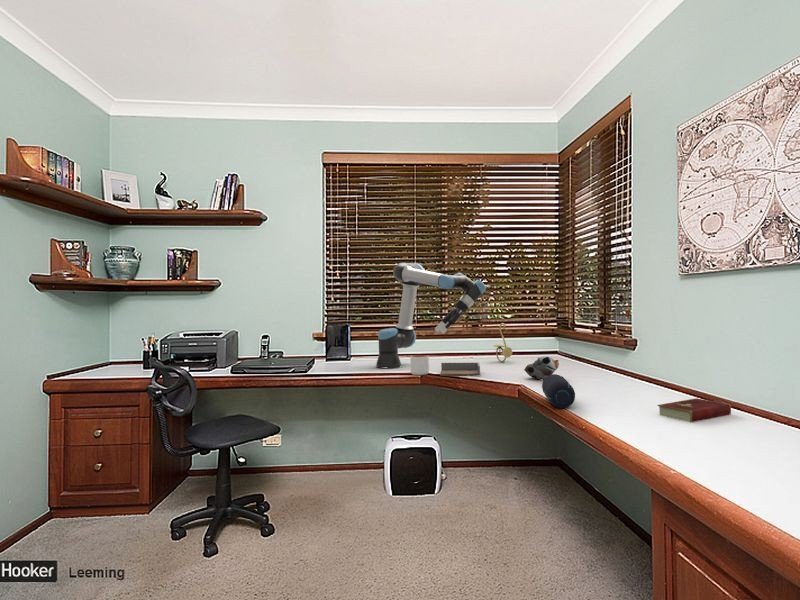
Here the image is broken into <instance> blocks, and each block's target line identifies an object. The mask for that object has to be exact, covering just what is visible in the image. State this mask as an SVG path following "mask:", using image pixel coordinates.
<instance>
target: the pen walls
mask: <svg viewBox="0 0 800 600" xmlns="http://www.w3.org/2000/svg"><path fill="white" fill-rule="evenodd" d="M440 363H441V365H440V366H441V367H440V368H441V370H478V374H480V375H481V365H480V362H440Z"/></svg>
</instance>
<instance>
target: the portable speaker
mask: <svg viewBox="0 0 800 600" xmlns="http://www.w3.org/2000/svg"><path fill="white" fill-rule="evenodd" d="M541 388H542V392H543V394H544V395H545V398H546V399H547V400H548V402H549V403H550V404H551V405H552V406H553V407H555V408H559V409H565V407H566V408H568V407H570V406H572V404H573V403H574V401H575V398H576V392H575V388H574V387H573V386H572V385H571V384H570V382H569V381H568V380H567V379H565V377H564V376H563V375H562V376H561V375H559V374H555V373H553V374H552V375H549V376H547V377H546V378H545V379H544V380H542V383H541Z"/></svg>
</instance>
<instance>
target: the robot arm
mask: <svg viewBox="0 0 800 600" xmlns="http://www.w3.org/2000/svg"><path fill="white" fill-rule="evenodd" d="M392 273H393V277H394V278H395V280H396V281H399V282H401V283H400V284H401V285H402V286H403V287H402V295H401V301H400V309H399V317H398V323H397V324H396V325H395V327H389V328H383V329H380V330H378V337H377V338H378V357H377V360H376V363H375V364H376V365H375V366H377V367H388V368H387V369H395V368H394V367H398V368H401V367H402V362H401V360H400V357H399V353H398V351H399V349H406V348H410V347H412V346H413V345H414V344H415V343H416V340H417V334H416V331H415V330H414V326H413V320H414V311H415V307H416V306H415V305H416V299H417V292H418V291H417V290H418V288H419V287H420V286H421V284H424V285H429V286H433V287H438V288H441V289H443V290H461V291H462V292H464V293H463V294H462V295H461V297H459V299H458V300H457V301H456V302H455V303H454V306H455V307H456V308H452V310H451V311H450V312H448V314H446V315H445V317H443V318H442V319H441V321H440V322H439V324H438V325H436V327H435V328H434V331H435V332H436V333H438V334H439V332H441V333H442V334H443V335H444V334H446V332H447V331H448V330H449V329H450V327H451V326H452V325H455V323H456V322H457V320H458V319H459V318H460V317H461V315H462V314H465V313H466V312H468V310H469V308H471V307H472V306H474V304H475V303H476V301H477V300H478V299H479V298H480V297H481V296H482V295H483V294H484V293H485V292H486V290H487V286H486V284H484V282H483V281H481V280H479V279H476V280H475V281H473V280H471V278H469V277H467V276H466V275H465V274H462V273H461V272H457V273H455V274H454V275H451V274H445V273H444V274H443V273H439V272H434V271H428V270H425V269H424V267H423V266H422V265H421V264H419V263H416V262H399V263H398V264H396V265H395V266H394V268H393V271H392ZM400 366H401V367H400ZM377 367H376V368H377Z"/></svg>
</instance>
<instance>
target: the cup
mask: <svg viewBox="0 0 800 600" xmlns="http://www.w3.org/2000/svg"><path fill="white" fill-rule="evenodd" d="M429 357H430V356H429V355H427V354H426V355H424V354H416V355H410V374H411V375H412V376H427V375H428V374H429V373H430V360H429V359H430V358H429Z"/></svg>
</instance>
